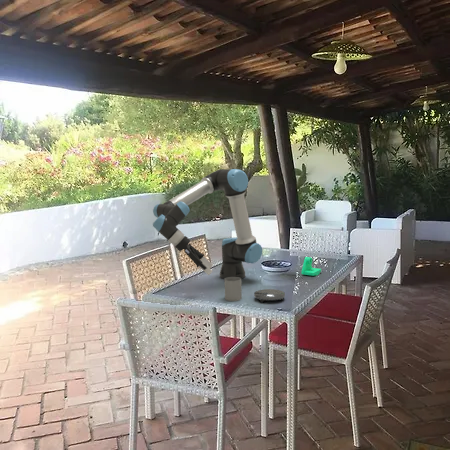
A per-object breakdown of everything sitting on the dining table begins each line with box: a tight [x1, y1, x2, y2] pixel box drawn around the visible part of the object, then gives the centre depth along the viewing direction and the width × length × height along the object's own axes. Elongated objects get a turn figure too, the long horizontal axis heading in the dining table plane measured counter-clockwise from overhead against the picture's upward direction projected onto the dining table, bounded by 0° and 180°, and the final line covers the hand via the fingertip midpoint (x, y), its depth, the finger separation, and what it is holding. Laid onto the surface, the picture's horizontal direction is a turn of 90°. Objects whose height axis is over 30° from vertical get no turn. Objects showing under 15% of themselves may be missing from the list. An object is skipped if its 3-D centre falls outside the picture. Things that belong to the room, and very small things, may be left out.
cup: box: [224, 277, 243, 302], centre depth 245 cm, size 8×8×10 cm
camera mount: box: [301, 256, 322, 277], centre depth 292 cm, size 12×8×10 cm, turn 146°
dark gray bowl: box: [253, 288, 286, 303], centre depth 243 cm, size 15×15×3 cm
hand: (211, 270), depth 244 cm, fingers open, 13 cm apart
